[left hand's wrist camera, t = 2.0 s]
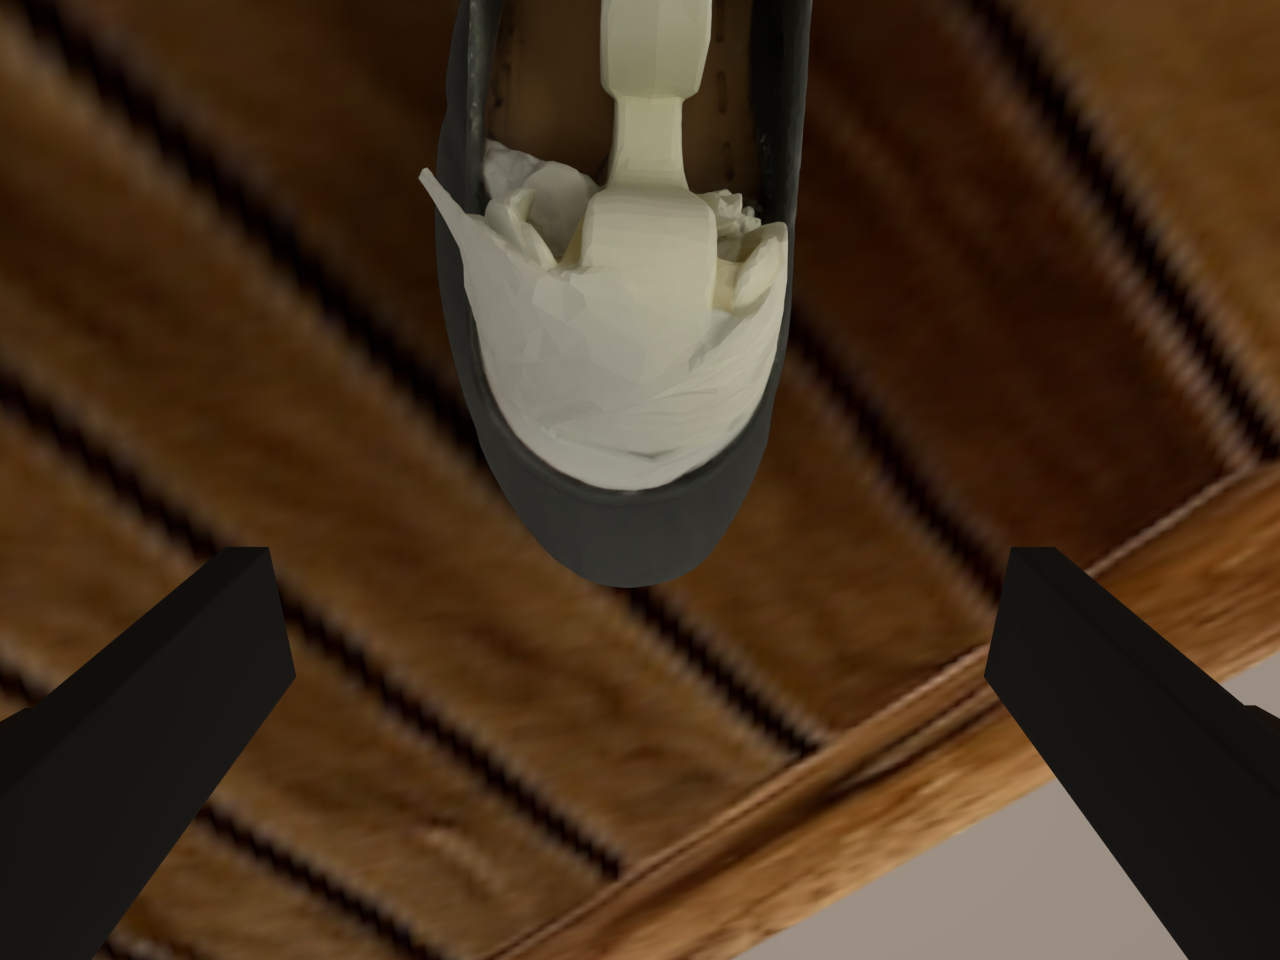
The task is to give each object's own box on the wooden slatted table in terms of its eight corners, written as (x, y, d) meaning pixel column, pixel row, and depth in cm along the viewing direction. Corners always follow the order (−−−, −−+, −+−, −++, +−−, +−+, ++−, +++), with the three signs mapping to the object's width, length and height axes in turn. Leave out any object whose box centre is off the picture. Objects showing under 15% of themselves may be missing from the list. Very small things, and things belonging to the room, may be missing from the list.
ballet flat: (486, 563, 22) (410, 762, 14) (379, -621, 13) (13, -1833, 5) (752, 560, 22) (821, 757, 14) (832, -612, 13) (1130, -1779, 5)
